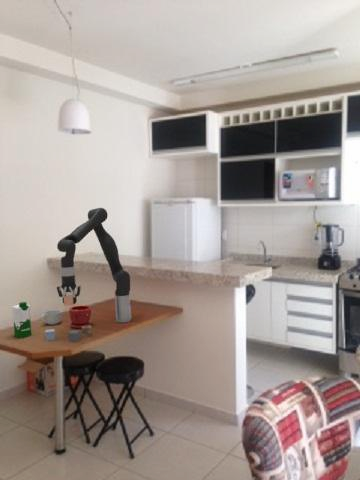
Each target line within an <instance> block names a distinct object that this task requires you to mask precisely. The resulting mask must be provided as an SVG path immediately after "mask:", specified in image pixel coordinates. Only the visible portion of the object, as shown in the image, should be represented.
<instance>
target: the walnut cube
mask: <svg viewBox="0 0 360 480" xmlns="http://www.w3.org/2000/svg"><path fill="white" fill-rule="evenodd" d="M92 330H93V329H92V325H90V324H89V325H88V326H82V328H81V338H82V337H84V338H85V337H92V335H91V334H93V332H92Z"/></svg>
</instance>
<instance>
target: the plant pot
mask: <svg viewBox="0 0 360 480" xmlns="http://www.w3.org/2000/svg"><path fill="white" fill-rule="evenodd" d="M68 313H69V318H70V321H71V323H70V327H72V328H73V329H82V326H89V325H90V320H91V316H92V308H91V306H88V305H75V306H74V305H73V306H70V307H69V312H68Z"/></svg>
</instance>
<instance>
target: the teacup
mask: <svg viewBox="0 0 360 480" xmlns="http://www.w3.org/2000/svg"><path fill="white" fill-rule="evenodd" d="M62 313H63V311H62V310H60V309H48V310H45V311H44V313H43V314H41V316H40V319H41V321H43V322H45V323H46V324H48V325H50V326H54V325H58V324H60V323H61V321H62Z"/></svg>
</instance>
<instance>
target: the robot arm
mask: <svg viewBox="0 0 360 480" xmlns="http://www.w3.org/2000/svg"><path fill="white" fill-rule="evenodd" d="M87 219H88V220H86V221H85V222H84V223H81V224H80V225H79V226H77V227H76V228H75V229H74V230H73V231H72V232H71V233H69V234H67V235H66V236H64V237H63V238H61V239H59V241H58V243H57V246H56V247H57V250H58V251H59V252H60V253H61V252H62V253H65V255H64V256H62V257H61V258H60V266H61V268H60V269H61V270H60V272H61V273H60V275H61V285H58V286H57V287H56V290H57V294H58V297H59V298H62V304H64V297H65V296H66V295H67V293H71V295H73V297H74V298H73V302H74V305H75V304H76V303H77V301H78V299H77V298H78V297H79V296H80V294H81V291H82V290H81V289H82V286H81V285H77V283H76V273H75V272H76V271H75V262H74V258H75V254H76V247H77V245H76V244H79V243H80V242H81V241H82V240H83V239H84V238H85V237H86V236H87V235H88V234H89V233H90V232H92V231H94V233H95V236H96V237H97V239H98V240H97V241H98V242H99V245H100V247H101V250H102V252H103V255H104V258H105V260H106V261H107V264H108V266H109V269H110V272H111V275H112V279H113V281H114V282H115V286H116V289H115V291H114V297H115V298H114V301H115V303H114V305H115V319H116V320H115V321H116V323H122V324H123V323H130V322H131V321H132V305H131V299H130V298H131V296H130V291H131V276H130V273H129V271H127V270H125V269H124V268H123V266H122V263H121V261H120V256H119V249H118V247H117V243H116V241H115V239H114V238H113V237H112V236H111V234H109V233H108V231H106V229H105V228H104V225H103V223H104V222H105V221H106V220H107V219H108V211H107V209H105V208H103V207H97V208H93V209H90V210H88V212H87ZM75 289H76V290H77V291H76V290H75ZM62 290H63V292H62Z"/></svg>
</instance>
